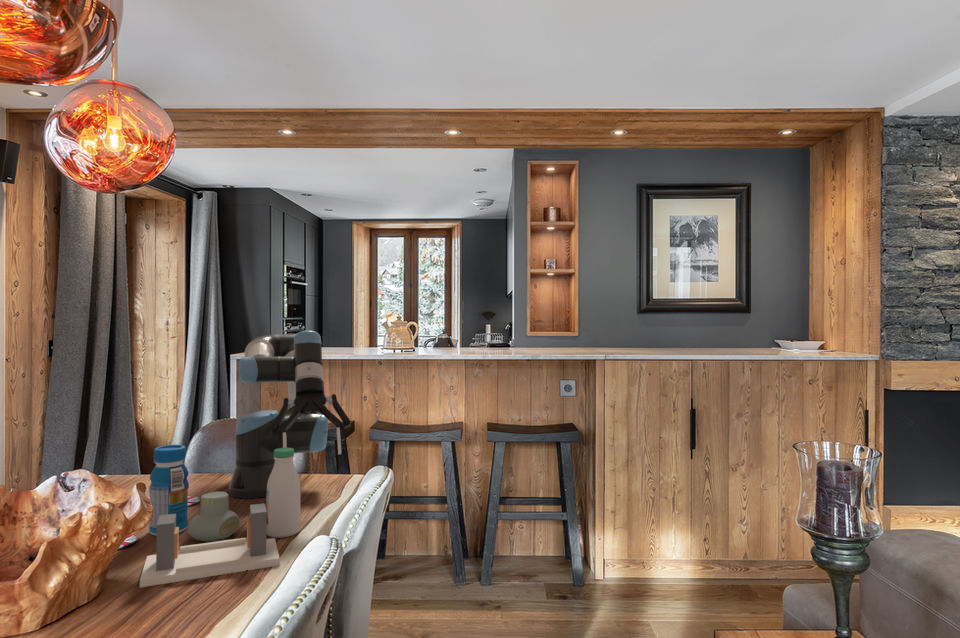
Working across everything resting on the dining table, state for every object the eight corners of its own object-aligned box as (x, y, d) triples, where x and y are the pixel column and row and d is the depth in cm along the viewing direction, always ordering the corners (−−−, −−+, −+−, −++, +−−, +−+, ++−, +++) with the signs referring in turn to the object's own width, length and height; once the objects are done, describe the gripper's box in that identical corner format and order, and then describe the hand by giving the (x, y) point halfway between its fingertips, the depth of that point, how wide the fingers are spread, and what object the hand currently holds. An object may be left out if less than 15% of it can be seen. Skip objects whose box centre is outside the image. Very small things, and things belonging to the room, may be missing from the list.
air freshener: (215, 527, 139) (216, 486, 139) (244, 531, 137) (245, 489, 137) (181, 544, 128) (182, 500, 128) (212, 548, 126) (213, 503, 126)
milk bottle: (306, 529, 138) (307, 447, 138) (283, 540, 131) (284, 454, 131) (282, 525, 141) (283, 444, 141) (258, 535, 134) (259, 450, 134)
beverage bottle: (143, 538, 132) (144, 452, 132) (154, 526, 140) (155, 444, 140) (183, 535, 134) (185, 450, 134) (191, 523, 142) (192, 442, 142)
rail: (147, 563, 118) (148, 512, 118) (274, 544, 129) (275, 498, 129) (139, 587, 107) (140, 531, 108) (279, 565, 118) (280, 514, 118)
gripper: (260, 379, 151) (259, 455, 140) (355, 372, 159) (362, 445, 148) (262, 391, 157) (262, 466, 147) (354, 384, 165) (361, 455, 154)
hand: (312, 455), depth 147 cm, fingers open, 13 cm apart
